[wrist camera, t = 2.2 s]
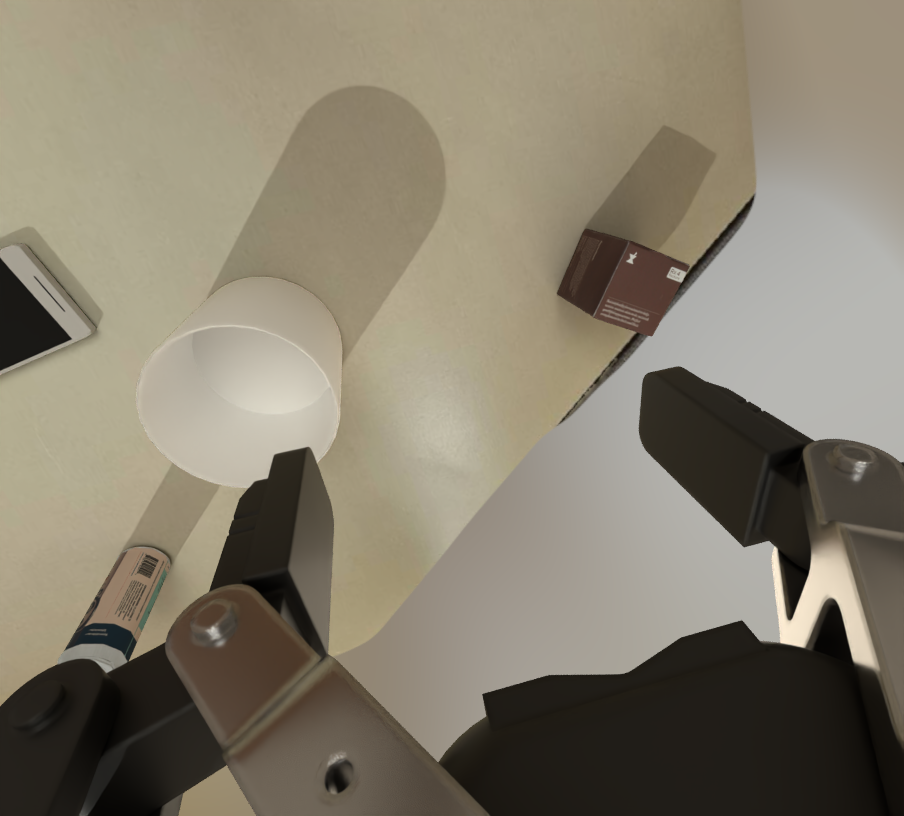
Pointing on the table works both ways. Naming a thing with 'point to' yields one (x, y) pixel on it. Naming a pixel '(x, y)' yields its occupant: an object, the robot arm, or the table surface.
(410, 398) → the table surface
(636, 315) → the box
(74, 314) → the smartphone
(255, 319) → the cup
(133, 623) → the beer can
